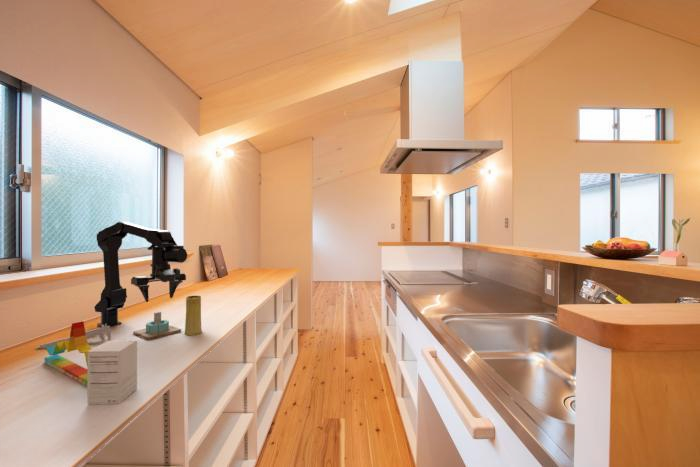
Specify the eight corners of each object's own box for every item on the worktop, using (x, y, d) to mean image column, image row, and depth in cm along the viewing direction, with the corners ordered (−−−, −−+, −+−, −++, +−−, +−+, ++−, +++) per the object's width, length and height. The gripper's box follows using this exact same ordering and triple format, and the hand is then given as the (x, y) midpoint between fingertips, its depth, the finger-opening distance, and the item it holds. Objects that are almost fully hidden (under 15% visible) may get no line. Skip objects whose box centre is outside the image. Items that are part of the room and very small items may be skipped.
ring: (142, 331, 123) (143, 323, 123) (162, 326, 129) (162, 319, 129) (152, 334, 119) (152, 326, 119) (171, 329, 125) (171, 322, 125)
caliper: (111, 339, 117) (111, 322, 117) (110, 340, 116) (110, 323, 116) (35, 349, 107) (35, 330, 107) (34, 350, 106) (34, 331, 106)
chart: (43, 364, 96) (43, 314, 95) (57, 360, 98) (57, 312, 98) (90, 391, 81) (91, 332, 80) (105, 385, 83) (105, 328, 83)
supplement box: (107, 389, 81) (107, 340, 81) (137, 388, 82) (138, 339, 81) (85, 405, 74) (86, 351, 73) (119, 404, 74) (120, 350, 74)
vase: (205, 331, 127) (205, 295, 127) (193, 336, 121) (193, 298, 121) (193, 329, 129) (193, 294, 129) (180, 334, 123) (181, 297, 123)
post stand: (133, 334, 123) (133, 313, 122) (165, 326, 133) (165, 307, 133) (148, 340, 116) (148, 318, 116) (181, 331, 126) (181, 311, 126)
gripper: (144, 265, 116) (143, 307, 116) (193, 261, 131) (192, 299, 132) (130, 262, 122) (129, 302, 122) (179, 259, 138) (178, 295, 138)
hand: (159, 299), depth 128 cm, fingers open, 9 cm apart
